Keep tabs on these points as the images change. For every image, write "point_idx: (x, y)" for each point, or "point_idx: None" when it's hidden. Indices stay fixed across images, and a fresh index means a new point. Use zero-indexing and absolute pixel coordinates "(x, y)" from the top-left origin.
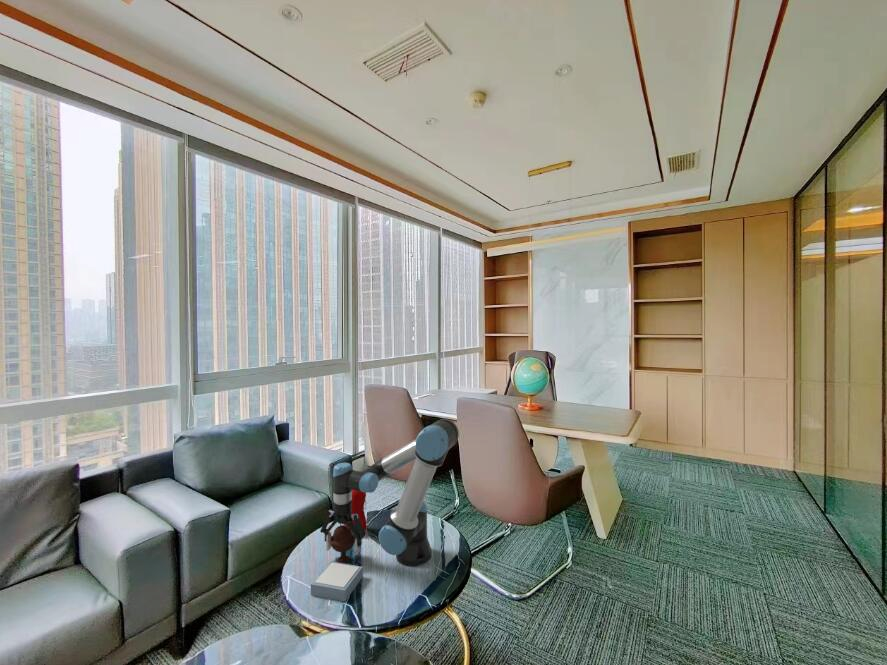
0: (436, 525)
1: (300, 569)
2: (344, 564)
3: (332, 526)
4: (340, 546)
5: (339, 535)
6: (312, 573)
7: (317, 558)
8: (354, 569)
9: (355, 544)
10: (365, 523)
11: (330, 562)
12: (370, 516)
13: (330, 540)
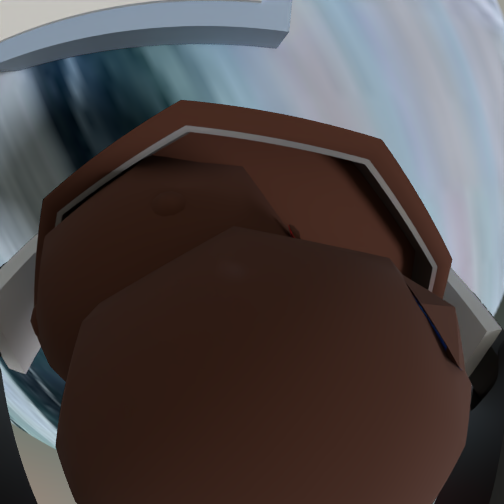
0: (31, 430)
1: (491, 84)
2: (109, 24)
3: (496, 492)
4: (163, 115)
5: (187, 317)
6: (410, 29)
7: (438, 203)
8: (1, 6)
9: (23, 260)
10: None
11: (287, 18)
12: None
13: (437, 253)
